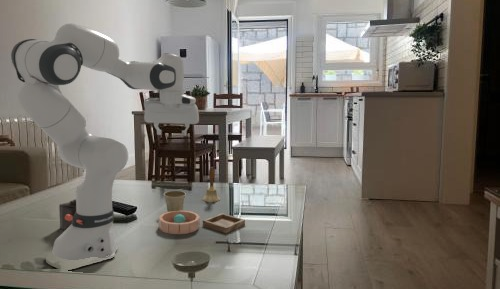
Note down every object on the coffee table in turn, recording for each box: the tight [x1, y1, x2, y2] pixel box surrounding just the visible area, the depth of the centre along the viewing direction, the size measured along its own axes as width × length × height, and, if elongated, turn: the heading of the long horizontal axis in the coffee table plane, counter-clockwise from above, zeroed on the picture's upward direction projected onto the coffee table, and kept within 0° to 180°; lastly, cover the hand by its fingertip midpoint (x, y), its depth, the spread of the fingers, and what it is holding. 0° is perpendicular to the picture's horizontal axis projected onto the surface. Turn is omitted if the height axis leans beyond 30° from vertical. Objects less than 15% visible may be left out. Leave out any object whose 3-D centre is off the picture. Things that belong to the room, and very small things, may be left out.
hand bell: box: [202, 166, 221, 203], centre depth 200 cm, size 8×8×16 cm
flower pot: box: [163, 190, 187, 212], centre depth 180 cm, size 9×9×9 cm
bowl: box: [158, 210, 201, 235], centre depth 165 cm, size 16×16×4 cm
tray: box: [202, 212, 246, 234], centre depth 168 cm, size 12×12×2 cm
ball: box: [174, 214, 185, 223], centre depth 165 cm, size 4×4×4 cm
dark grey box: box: [58, 185, 79, 231], centre depth 157 cm, size 16×11×18 cm
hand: (171, 135), depth 159 cm, fingers open, 8 cm apart
